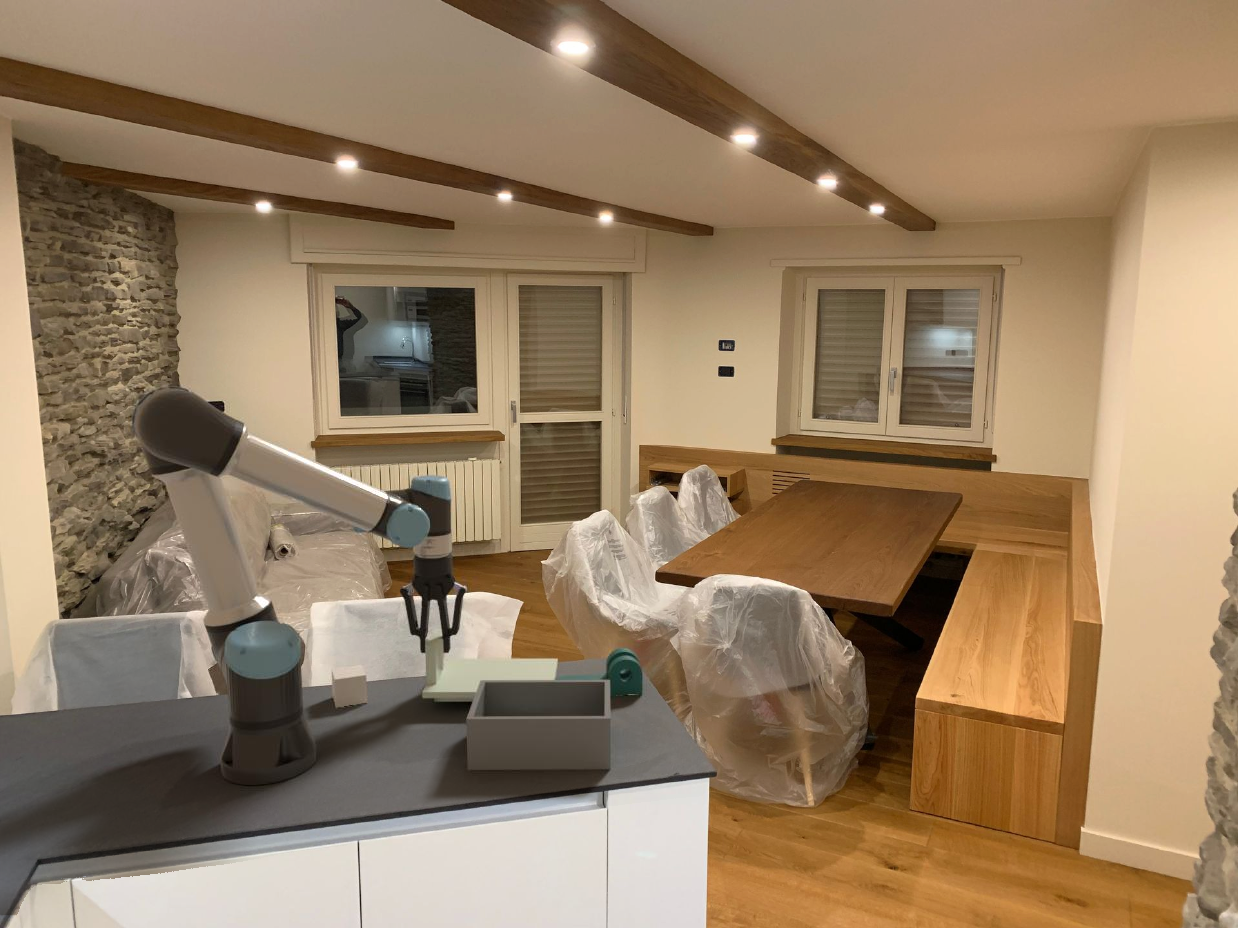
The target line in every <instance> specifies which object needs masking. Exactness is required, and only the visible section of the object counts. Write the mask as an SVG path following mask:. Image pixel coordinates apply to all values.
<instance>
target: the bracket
mask: <svg viewBox="0 0 1238 928" xmlns="http://www.w3.org/2000/svg"><path fill="white" fill-rule="evenodd" d="M605 664H606V665H605V667H606V668H605V671H606V672H605V673H602V674H583V675H581V674H579V675H577V674H575V675H563V676H559V677H557V678H555V680H610V697H617V696H616V695H628V694H635V695H634V696H643V679H644V677H643V669H642V666H641V664H640V661H639V659H638V656H637V655H636V653H635V652H634V651H633V650H631V649H629V648H626V647H619V648H616V649H614V650H612V651H611V652H610V653H609V655H608V656H607V659H606V663H605ZM636 694H638V695H636Z"/></svg>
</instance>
